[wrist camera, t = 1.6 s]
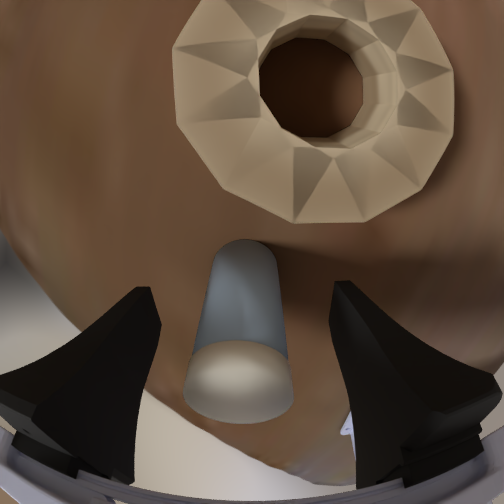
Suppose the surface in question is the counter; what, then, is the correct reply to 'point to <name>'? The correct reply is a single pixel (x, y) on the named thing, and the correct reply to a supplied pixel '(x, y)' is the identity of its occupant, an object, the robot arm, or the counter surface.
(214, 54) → the bead
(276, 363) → the white-tipped blue cylinder
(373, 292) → the counter surface
